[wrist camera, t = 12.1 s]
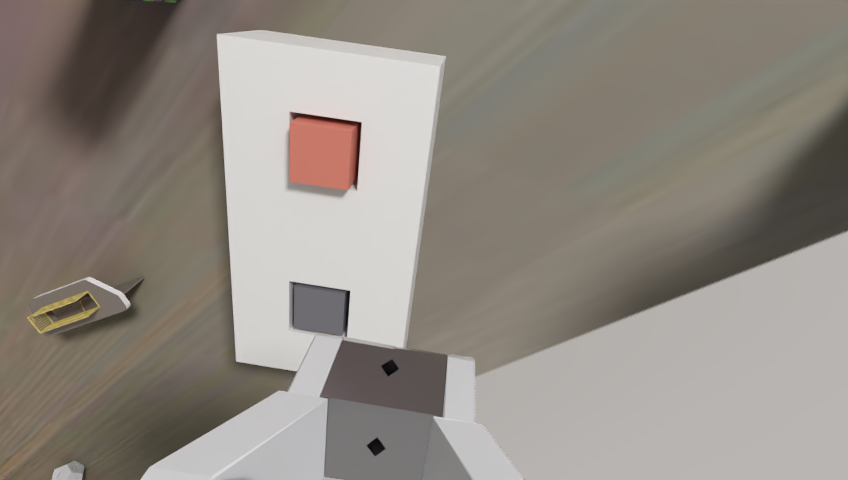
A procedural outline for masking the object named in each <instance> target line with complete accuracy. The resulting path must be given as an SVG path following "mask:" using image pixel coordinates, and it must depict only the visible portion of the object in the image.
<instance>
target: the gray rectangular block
mask: <svg viewBox="0 0 848 480" xmlns="http://www.w3.org/2000/svg"><path fill="white" fill-rule="evenodd" d="M349 302H350V291H349V290H342V289H336V288H329V287H323V286H317V285H310V284H304V283H298V282H297V283H296V284H295V286H294V328H297V329H303V330H309V331H316V332H322V333H328V334H335V335H341V336H342V335H343V333H344V330H345V328H346V325H347V323H348V317H349Z"/></svg>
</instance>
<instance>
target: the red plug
mask: <svg viewBox="0 0 848 480" xmlns="http://www.w3.org/2000/svg"><path fill="white" fill-rule="evenodd" d="M361 127H362V122H356V121H350V120H343V119H336V118H329V117H323V116H316V115H309V114H302V115H301V116H299V117H297V118H296V119H294V120H292V121H291V122H290V154H289V182H295V183H302V184H309V185H315V186H322V187H328V188H335V189H342V190H349V188H350V187H351V185H352V184H353V182H354V181H355V179H356V178H357V177H358V170H359V156H360V141H361Z"/></svg>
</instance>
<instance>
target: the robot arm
mask: <svg viewBox="0 0 848 480" xmlns="http://www.w3.org/2000/svg"><path fill="white" fill-rule="evenodd" d="M324 477H330V478H336V479H343V480H525V479H524V478H523V477H522V476H521V474H520V473H519V471H518V470H517V469H516V467H515V466H514V465H513V463H512V462H511V461H510V459H509V458H508V457H507V455H506V454H505V453H504V451H503V450H502V449H501V447H500V446H499V445H498V444H497V442H496V441H495V439H494V438H493V437H492V436H491V434H490V433H489V431H488V430H487V429H486V427H485V426H484V425H482V424H477V423H475V360H474V358H473V357H467V356H459V355H452V354H447V355H446V354H440V353H434V352H428V351H421V350H415V349H409V348H402V347H396V346H392V345H386V344H381V343H376V342H370V341H365V340H360V339H354V338H349V337H345V338H344V337H342V336H336V335H331V334H325V333H318V334H317V335H316V336H315V337H314V338H313V340H312V342H311V344H310V346H309V348H308V350H307V352H306V354H305V357H304V359H303V361H302V363H301V365H300V367H299V369H298V371H297V373H296V375H295V377H294V379H293V381H292V383H291V385H290V387H289V389H288V391H287V392H285V391H277V392H276V393H274V394H272V395H271V396H269V397H267V398H266V399H264V400H262V401H260V402H259V403H257V404H255V405H254V406H252V407H250V408H249V409H247V410H245V411H244V412H242V413H240V414H238V415H237V416H235V417H233V418H232V419H230V420H228V421H227V422H225V423H223V424H221V425H220V426H218V427H216V428H215V429H213V430H211V431H210V432H208V433H206V434H205V435H203V436H201V437H199V438H198V439H196V440H194V441H193V442H191V443H189V444H188V445H186V446H184V447H182V448H181V449H179V450H177V451H176V452H174V453H172V454H171V455H169V456H167V457H166V458H164V459H162V460H160V461H159V462H157V463H155V464H154V465H152V466H150V467H149V468H148V470H147V471H146V472H145V474H144V475H143V477H142V478H141V479H140V480H324Z"/></svg>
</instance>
